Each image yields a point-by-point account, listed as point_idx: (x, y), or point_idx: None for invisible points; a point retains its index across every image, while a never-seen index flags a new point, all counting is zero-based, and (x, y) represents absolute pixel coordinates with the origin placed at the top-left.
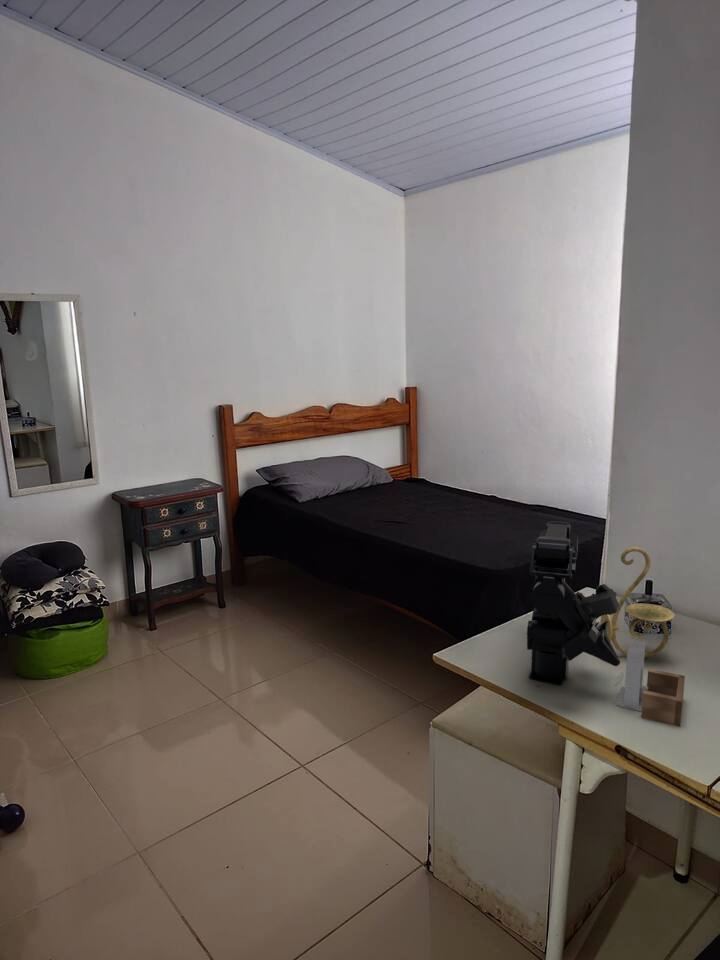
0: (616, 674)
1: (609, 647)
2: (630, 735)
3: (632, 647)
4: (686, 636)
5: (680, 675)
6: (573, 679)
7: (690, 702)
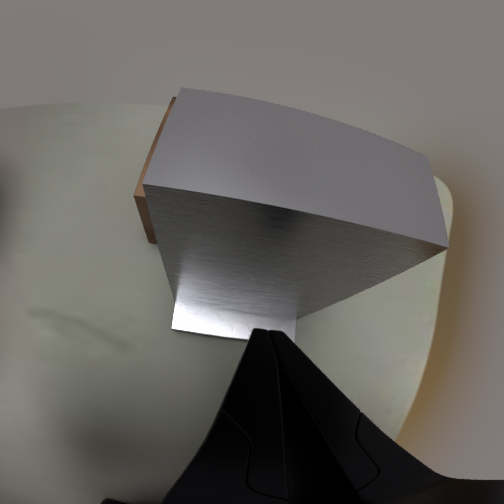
0: (46, 332)
1: (329, 422)
2: (408, 299)
3: (347, 192)
4: None
5: (172, 105)
6: (139, 483)
7: None
